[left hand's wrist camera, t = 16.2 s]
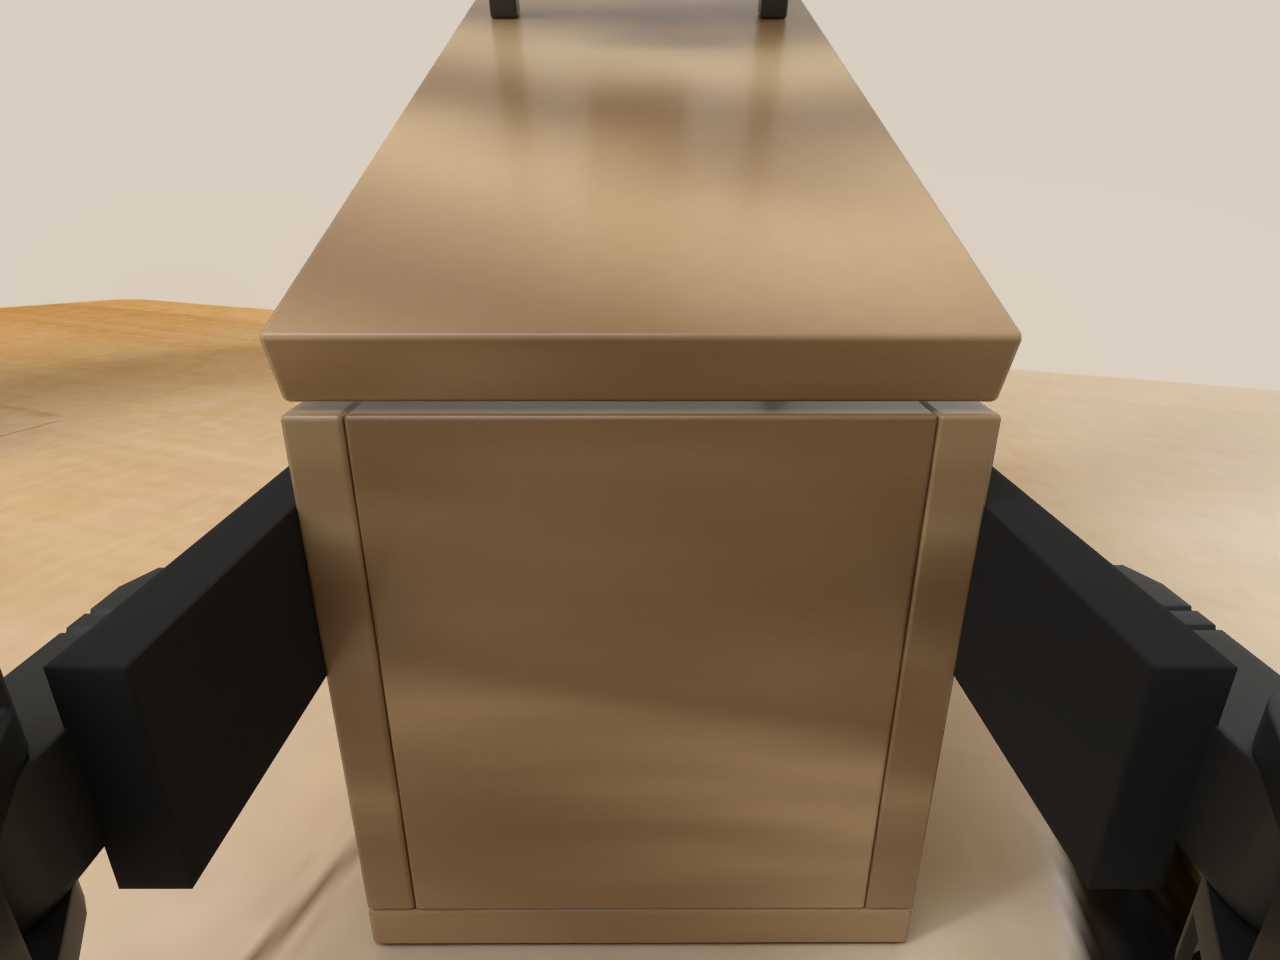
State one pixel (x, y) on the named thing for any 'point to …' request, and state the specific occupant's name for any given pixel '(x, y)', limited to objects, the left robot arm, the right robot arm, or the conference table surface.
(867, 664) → the chest
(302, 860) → the conference table surface
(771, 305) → the lid
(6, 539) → the conference table surface
